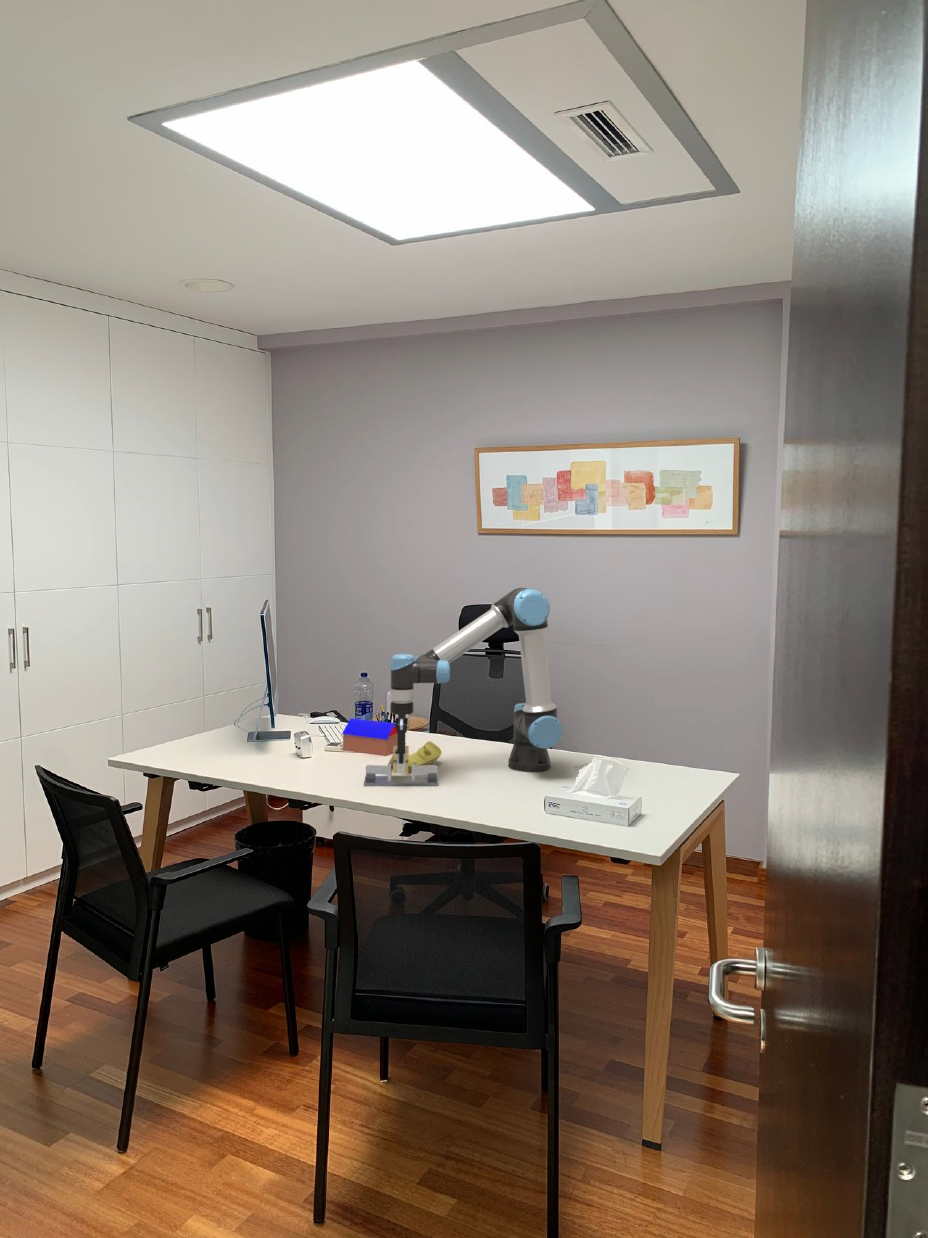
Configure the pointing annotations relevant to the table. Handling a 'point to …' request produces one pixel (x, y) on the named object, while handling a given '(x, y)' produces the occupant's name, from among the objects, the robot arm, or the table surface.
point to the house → (370, 737)
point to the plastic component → (422, 756)
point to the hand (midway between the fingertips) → (401, 770)
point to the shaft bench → (401, 780)
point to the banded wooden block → (396, 759)
